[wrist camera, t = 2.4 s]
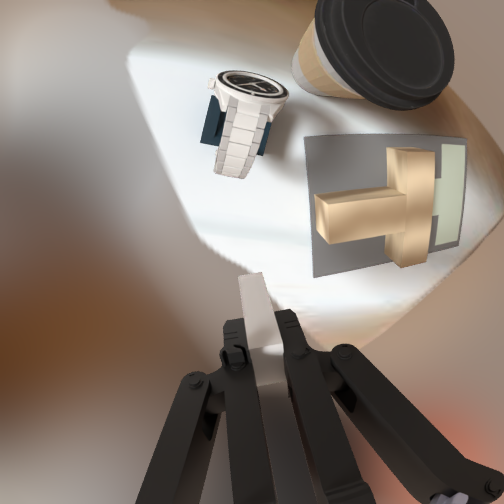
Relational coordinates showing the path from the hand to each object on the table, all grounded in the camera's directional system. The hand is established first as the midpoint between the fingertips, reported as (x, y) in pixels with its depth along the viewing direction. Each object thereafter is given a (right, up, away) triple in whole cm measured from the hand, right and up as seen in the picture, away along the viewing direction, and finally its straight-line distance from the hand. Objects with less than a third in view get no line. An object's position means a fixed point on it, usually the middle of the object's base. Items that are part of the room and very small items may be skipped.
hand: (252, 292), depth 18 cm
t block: (+13, +8, +11) cm, 19 cm away
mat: (+18, +9, +12) cm, 23 cm away
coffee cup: (+7, +21, +5) cm, 22 cm away
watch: (-2, +15, +7) cm, 16 cm away
